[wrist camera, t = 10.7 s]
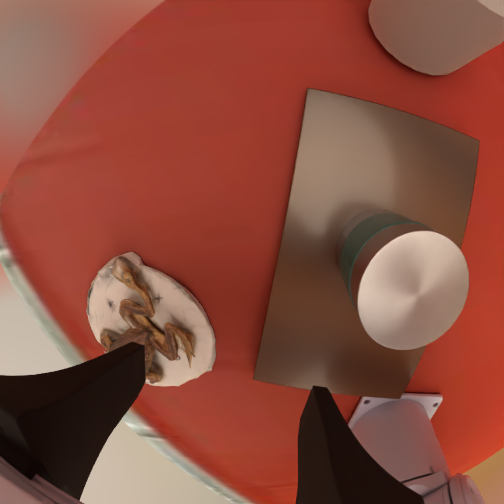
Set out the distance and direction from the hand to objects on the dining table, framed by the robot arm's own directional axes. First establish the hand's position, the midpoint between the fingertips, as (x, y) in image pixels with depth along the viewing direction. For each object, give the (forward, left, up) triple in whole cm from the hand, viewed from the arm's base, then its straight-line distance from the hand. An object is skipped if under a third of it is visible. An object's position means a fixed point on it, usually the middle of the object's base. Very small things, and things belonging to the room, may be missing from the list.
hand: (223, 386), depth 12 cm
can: (+21, -8, -10) cm, 24 cm away
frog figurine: (-5, +8, -10) cm, 13 cm away
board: (+4, -7, -9) cm, 12 cm away
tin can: (+5, -7, -8) cm, 12 cm away
